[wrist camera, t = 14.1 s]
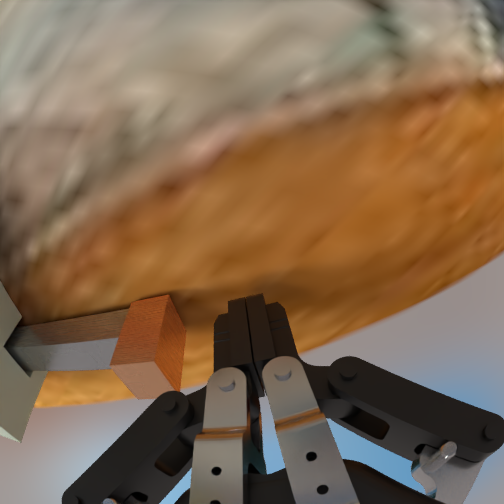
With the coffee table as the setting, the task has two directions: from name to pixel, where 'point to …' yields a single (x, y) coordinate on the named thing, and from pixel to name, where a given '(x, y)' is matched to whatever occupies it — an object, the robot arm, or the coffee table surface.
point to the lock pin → (110, 346)
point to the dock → (14, 378)
